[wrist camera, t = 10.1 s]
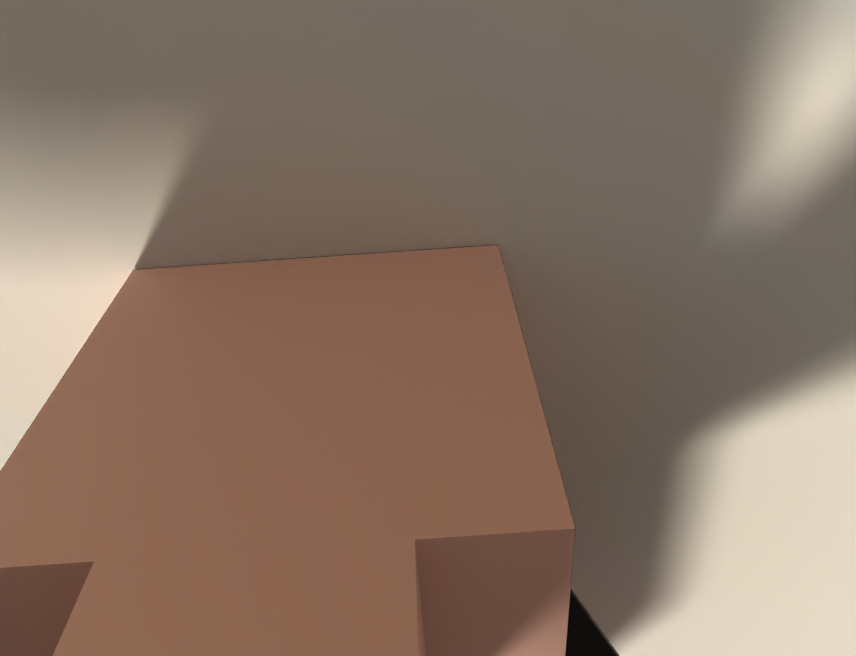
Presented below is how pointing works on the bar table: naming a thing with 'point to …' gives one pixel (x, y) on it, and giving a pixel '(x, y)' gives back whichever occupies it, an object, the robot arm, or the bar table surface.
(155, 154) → the bar table surface
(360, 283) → the block
